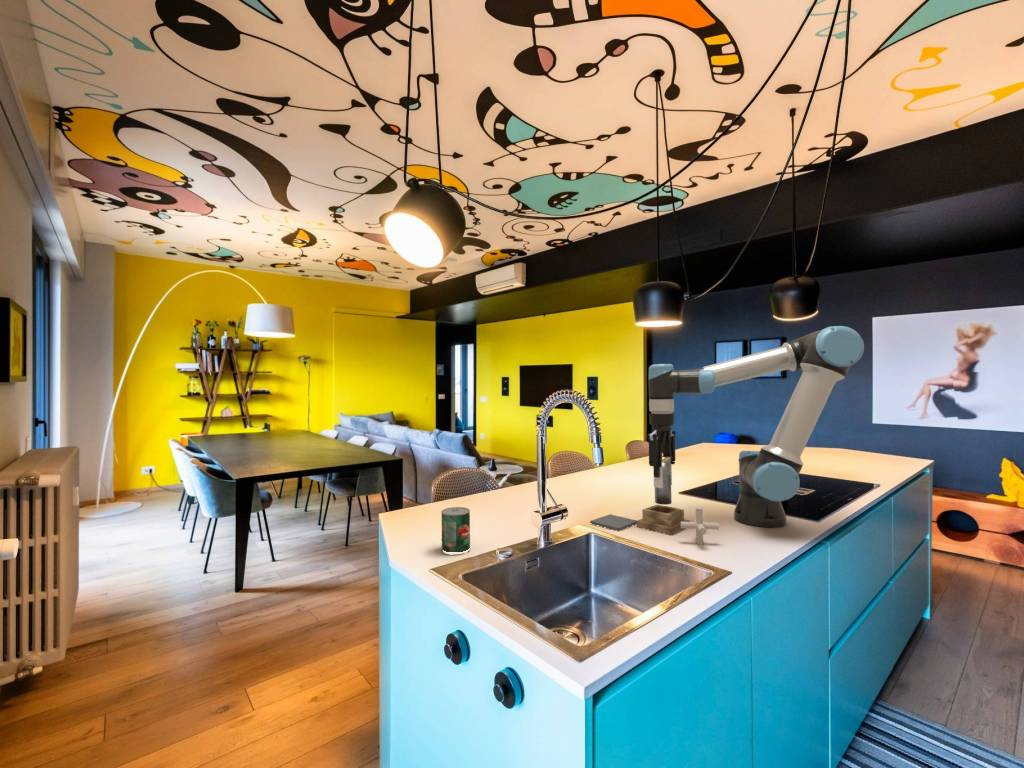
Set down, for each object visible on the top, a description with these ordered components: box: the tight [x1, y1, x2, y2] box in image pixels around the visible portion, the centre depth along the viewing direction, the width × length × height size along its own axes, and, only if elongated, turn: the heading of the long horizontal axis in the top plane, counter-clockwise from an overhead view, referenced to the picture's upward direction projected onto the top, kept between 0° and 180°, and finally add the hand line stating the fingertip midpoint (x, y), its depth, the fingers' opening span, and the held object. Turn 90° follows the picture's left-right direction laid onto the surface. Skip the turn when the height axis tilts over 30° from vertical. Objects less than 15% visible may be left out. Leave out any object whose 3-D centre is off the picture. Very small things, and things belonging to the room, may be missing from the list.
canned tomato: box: [440, 506, 471, 552], centre depth 129 cm, size 8×8×11 cm
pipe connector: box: [680, 507, 720, 545], centre depth 132 cm, size 10×10×10 cm
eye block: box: [635, 503, 691, 536], centre depth 147 cm, size 12×12×6 cm
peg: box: [654, 455, 673, 506], centre depth 148 cm, size 5×5×14 cm
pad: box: [589, 513, 637, 532], centre depth 151 cm, size 11×11×1 cm
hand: (662, 485), depth 147 cm, fingers closed on peg, 5 cm apart
